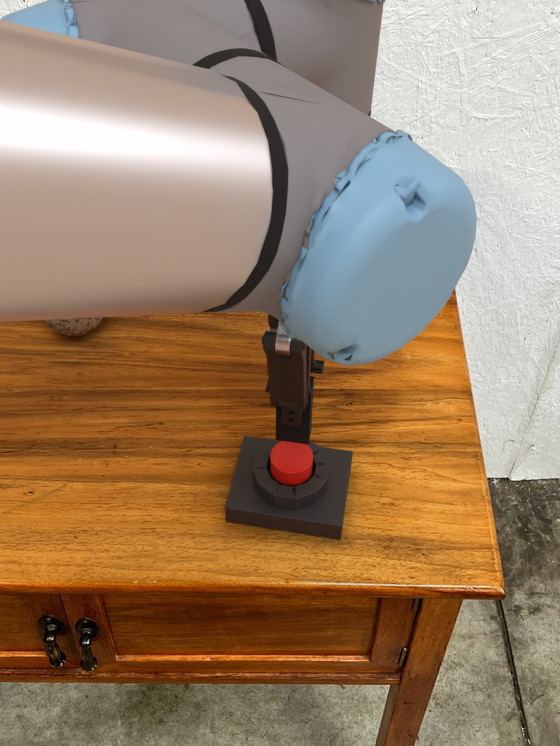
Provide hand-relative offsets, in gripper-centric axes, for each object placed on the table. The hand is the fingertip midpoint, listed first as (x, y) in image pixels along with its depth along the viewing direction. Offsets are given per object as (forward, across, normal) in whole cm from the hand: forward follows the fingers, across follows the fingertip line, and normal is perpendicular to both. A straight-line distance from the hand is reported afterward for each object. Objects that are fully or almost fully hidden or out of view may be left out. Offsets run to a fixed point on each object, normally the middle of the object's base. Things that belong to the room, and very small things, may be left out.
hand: (293, 435), depth 63 cm
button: (+4, 0, 0) cm, 4 cm away
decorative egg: (+8, +17, +26) cm, 32 cm away
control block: (+8, 0, 0) cm, 8 cm away
